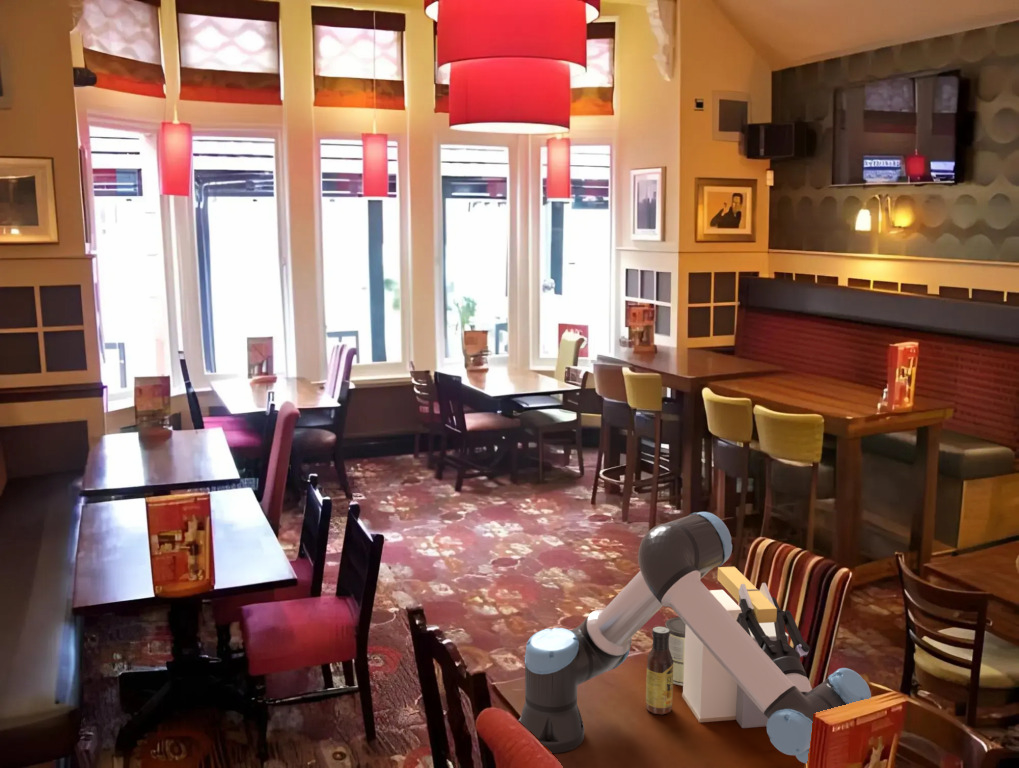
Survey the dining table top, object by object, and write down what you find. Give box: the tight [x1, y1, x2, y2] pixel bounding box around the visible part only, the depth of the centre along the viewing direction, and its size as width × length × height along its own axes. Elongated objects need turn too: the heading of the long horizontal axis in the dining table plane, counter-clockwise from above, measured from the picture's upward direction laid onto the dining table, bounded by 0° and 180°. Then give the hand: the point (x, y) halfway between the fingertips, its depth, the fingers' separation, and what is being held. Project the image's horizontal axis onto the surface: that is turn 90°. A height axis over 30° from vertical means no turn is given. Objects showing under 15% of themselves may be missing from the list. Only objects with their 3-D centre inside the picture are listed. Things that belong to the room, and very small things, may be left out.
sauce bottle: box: [645, 626, 674, 715], centre depth 218 cm, size 7×6×20 cm
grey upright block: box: [736, 622, 790, 729], centre depth 216 cm, size 12×10×22 cm
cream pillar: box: [681, 589, 742, 723], centre depth 218 cm, size 12×9×27 cm
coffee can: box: [664, 616, 686, 687], centre depth 234 cm, size 10×10×14 cm
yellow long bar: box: [717, 566, 777, 623], centre depth 203 cm, size 24×4×3 cm, turn 7°
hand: (752, 587), depth 199 cm, fingers closed on yellow long bar, 4 cm apart
